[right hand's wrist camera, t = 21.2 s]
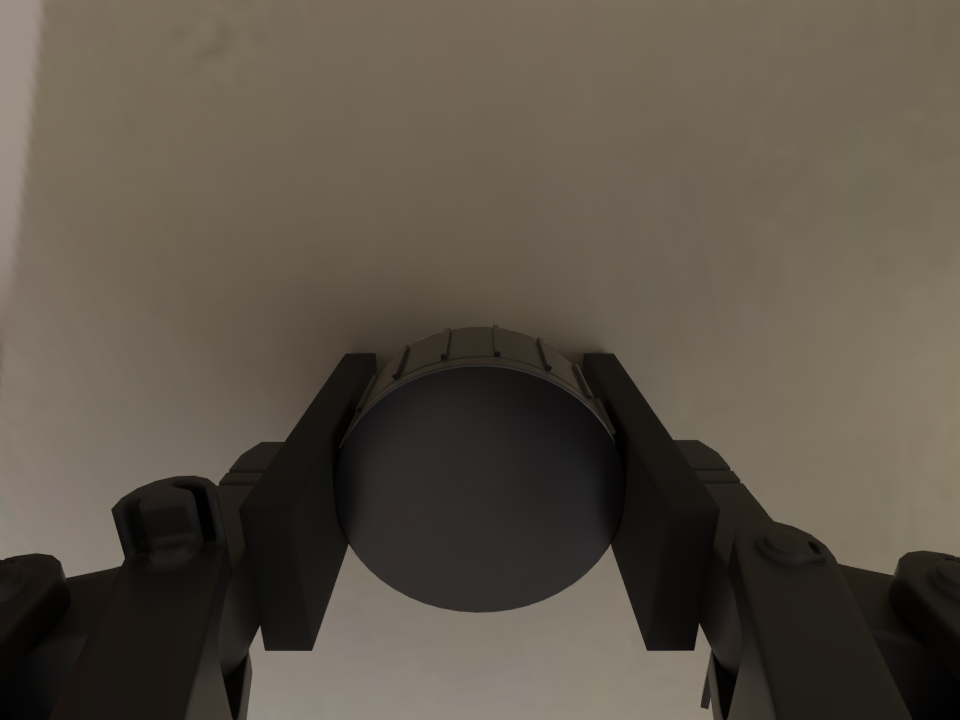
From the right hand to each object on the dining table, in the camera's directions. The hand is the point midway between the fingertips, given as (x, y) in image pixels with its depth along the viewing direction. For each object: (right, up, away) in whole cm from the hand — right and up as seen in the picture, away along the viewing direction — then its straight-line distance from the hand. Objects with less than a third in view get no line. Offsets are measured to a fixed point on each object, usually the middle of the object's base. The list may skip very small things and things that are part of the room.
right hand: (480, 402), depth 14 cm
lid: (0, -1, -4) cm, 4 cm away
